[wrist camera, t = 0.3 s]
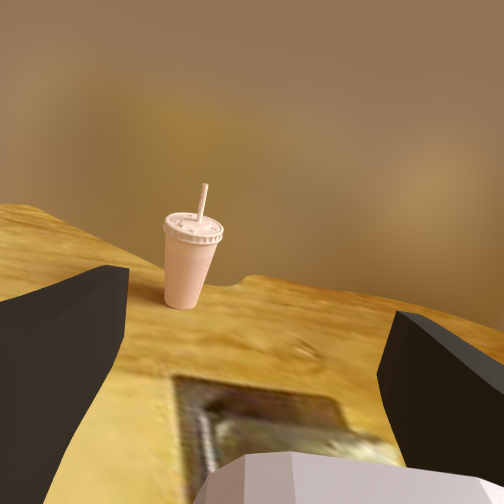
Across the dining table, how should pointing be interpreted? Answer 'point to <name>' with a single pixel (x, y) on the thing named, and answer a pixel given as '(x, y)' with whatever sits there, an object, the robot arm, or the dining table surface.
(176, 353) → the dining table surface
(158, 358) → the dining table surface
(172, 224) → the smoothie
